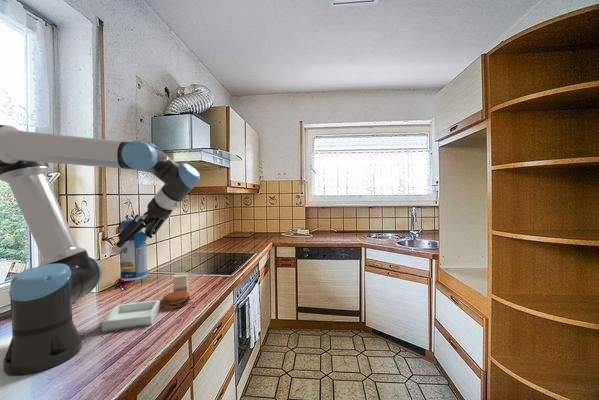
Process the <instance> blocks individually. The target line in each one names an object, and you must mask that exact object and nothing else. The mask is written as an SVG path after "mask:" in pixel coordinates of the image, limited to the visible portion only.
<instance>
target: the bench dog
mask: <svg viewBox="0 0 599 400" xmlns="http://www.w3.org/2000/svg"><path fill="white" fill-rule="evenodd" d="M172 278H173V279H172V280H173V283H172V284H173V285H172V286H173V292H174V291H187V292H188V293H189V273H188V271H187V272H178V273H176V272H175V273H174V275H173V276H172Z"/></svg>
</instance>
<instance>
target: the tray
mask: <svg viewBox="0 0 599 400" xmlns="http://www.w3.org/2000/svg"><path fill="white" fill-rule="evenodd" d="M160 310H161V299H157V300H148V301H140V302H132V303H131V302H130V303H122V304H117V305H116V306H115V307H113V309H112V310H111V311H110V312H109V313H108V314H107V316H105V318H104V319H103V320H102V321H101V332H102V333H104V332H109V331H110V332H111V331H119V330H124V329H132V328H140V327H146V326H147V327H148V326H152V325H153V323H154V321H155V319H156V317H157V315H158V314H159V311H160Z"/></svg>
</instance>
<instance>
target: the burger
mask: <svg viewBox="0 0 599 400" xmlns="http://www.w3.org/2000/svg"><path fill="white" fill-rule="evenodd" d="M190 301H191V298H190V294H189V291H188V292H187V291H174V290H173V291H170V292H168V293H166V294H165V295H164V296H163V297H162V299H161V306H162V309H165V310H173V309H178V308H181V307H184V306H186V305H187V304H188V303H190Z"/></svg>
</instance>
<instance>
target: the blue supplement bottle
mask: <svg viewBox="0 0 599 400" xmlns="http://www.w3.org/2000/svg"><path fill="white" fill-rule="evenodd" d="M132 220H133V219H125V220H123V219H122V220H121V221H120V230H121V231H122V230H123V229H124V228H125V227H126V226H127V225H128V224H129V223H130V222H131V221H132ZM143 223H144V222H143ZM144 224H145V223H144ZM144 233H145V232H144V231H143V229H142V230H140V231H139V232H138V233H137V234H136V235H134V236H133V237H132V238H131V239H130V240H129V241H130V242H129V243H128V244H127V245H126V246H125V247H124V248H123V249H122V250H121V252H120V253H119V259H120V261H119V263H120V265H119V266H120V274H119V277H120V280H123V281H135V280H140V279H143V278H145V277H147V276H148V273H149V272H148V259H147V258H148V257H147V256H148V254H147V250H148V244H147V240H148V238H146V235H145V234H144ZM118 239H119V240H120V238H118ZM119 240H118V241H119Z"/></svg>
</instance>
